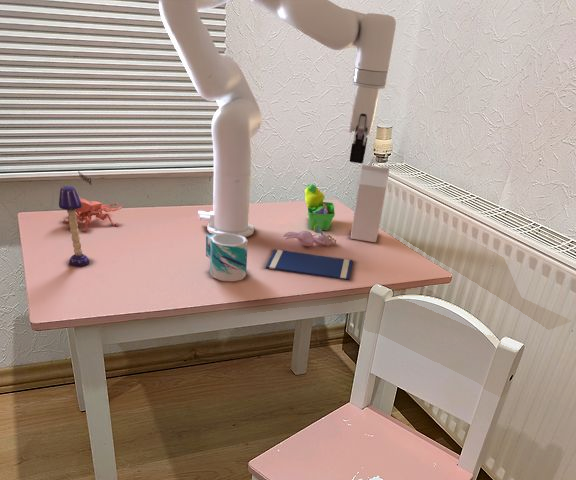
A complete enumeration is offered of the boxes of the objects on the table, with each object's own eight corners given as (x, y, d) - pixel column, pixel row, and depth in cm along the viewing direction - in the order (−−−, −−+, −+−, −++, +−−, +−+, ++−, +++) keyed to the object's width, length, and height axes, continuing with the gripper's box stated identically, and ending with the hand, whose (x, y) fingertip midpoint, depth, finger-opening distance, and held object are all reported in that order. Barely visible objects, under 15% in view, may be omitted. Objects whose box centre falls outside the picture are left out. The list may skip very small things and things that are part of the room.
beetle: (74, 233, 144) (67, 182, 137) (57, 218, 152) (51, 169, 145) (130, 226, 152) (127, 177, 145) (112, 212, 160) (108, 165, 153)
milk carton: (375, 243, 158) (388, 171, 147) (350, 239, 159) (361, 167, 148) (377, 234, 164) (390, 165, 153) (353, 231, 165) (363, 161, 154)
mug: (221, 283, 127) (222, 247, 123) (195, 264, 135) (195, 229, 130) (252, 277, 132) (254, 242, 127) (225, 258, 139) (226, 225, 135)
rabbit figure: (326, 244, 157) (277, 239, 150) (332, 223, 155) (282, 217, 147) (337, 252, 153) (287, 248, 146) (343, 230, 150) (293, 225, 143)
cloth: (265, 268, 137) (265, 266, 136) (274, 250, 147) (274, 249, 146) (349, 280, 135) (349, 278, 135) (352, 261, 145) (352, 260, 145)
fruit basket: (332, 232, 162) (338, 192, 156) (301, 229, 162) (305, 189, 155) (331, 219, 171) (336, 181, 165) (301, 217, 171) (305, 178, 165)
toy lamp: (68, 267, 127) (58, 191, 118) (65, 259, 131) (54, 184, 122) (91, 265, 130) (82, 190, 120) (86, 257, 133) (78, 183, 124)
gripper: (355, 73, 137) (344, 148, 147) (350, 80, 123) (339, 163, 132) (386, 77, 137) (373, 152, 146) (385, 85, 122) (371, 168, 132)
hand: (357, 157), depth 139 cm, fingers open, 9 cm apart
